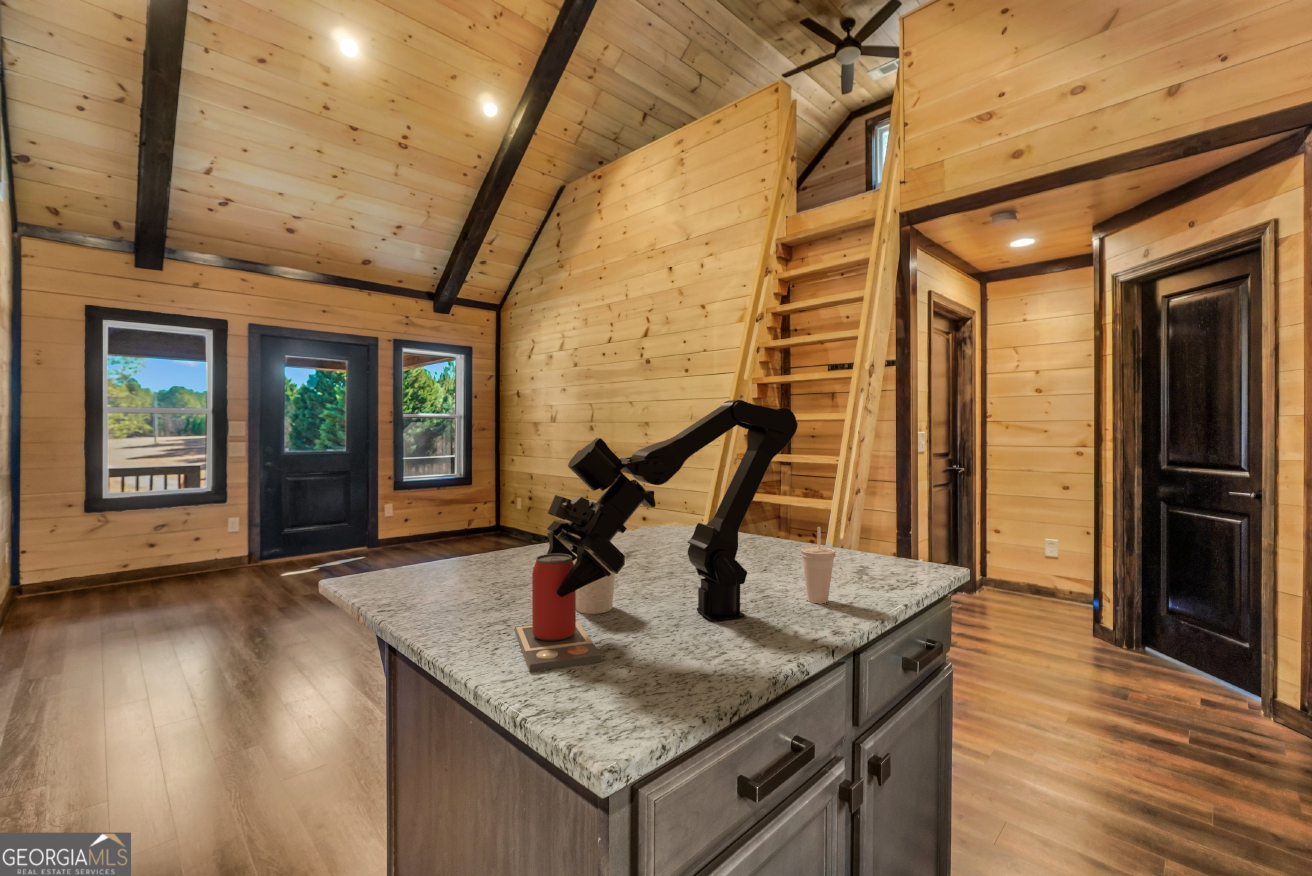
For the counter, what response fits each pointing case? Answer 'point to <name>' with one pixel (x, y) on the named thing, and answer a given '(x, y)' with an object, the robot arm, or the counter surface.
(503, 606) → the counter surface
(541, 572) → the beer can
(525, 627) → the slate card
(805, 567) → the smoothie
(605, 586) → the white cup
